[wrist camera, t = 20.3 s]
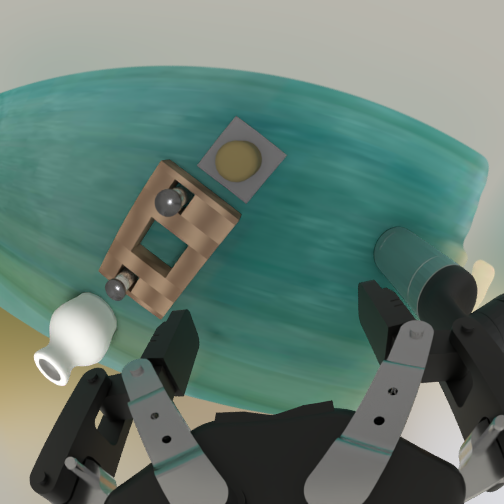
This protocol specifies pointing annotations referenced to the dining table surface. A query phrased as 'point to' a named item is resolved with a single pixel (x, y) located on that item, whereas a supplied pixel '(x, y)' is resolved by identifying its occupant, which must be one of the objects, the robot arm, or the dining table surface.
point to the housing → (181, 224)
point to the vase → (76, 337)
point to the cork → (238, 160)
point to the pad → (268, 150)
